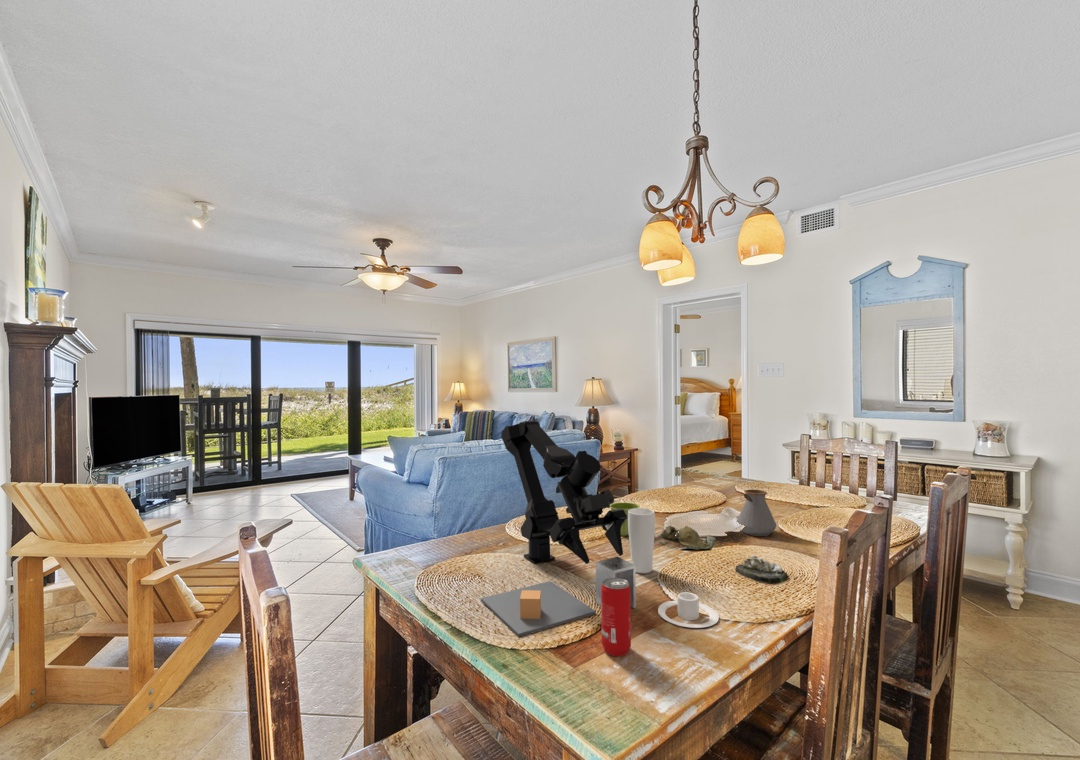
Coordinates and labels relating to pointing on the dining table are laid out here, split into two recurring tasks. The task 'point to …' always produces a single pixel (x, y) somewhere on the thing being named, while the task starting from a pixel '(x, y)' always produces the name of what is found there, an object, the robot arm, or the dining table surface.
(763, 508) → the coffee pot
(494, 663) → the dining table surface
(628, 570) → the steel cover
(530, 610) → the orange block
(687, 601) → the candle holder
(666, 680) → the dining table surface
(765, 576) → the stone carving
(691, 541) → the olive green lumpy piece
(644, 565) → the drinking glass
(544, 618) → the slate board
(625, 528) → the plant pot
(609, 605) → the beverage can
